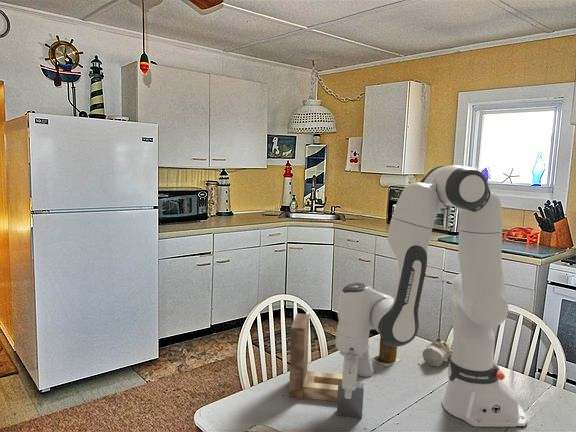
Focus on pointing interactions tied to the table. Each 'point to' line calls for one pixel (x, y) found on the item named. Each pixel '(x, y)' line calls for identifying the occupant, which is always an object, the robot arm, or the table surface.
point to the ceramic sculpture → (437, 353)
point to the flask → (365, 365)
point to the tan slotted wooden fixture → (300, 378)
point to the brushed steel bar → (350, 402)
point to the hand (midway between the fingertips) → (348, 388)
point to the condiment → (386, 354)
